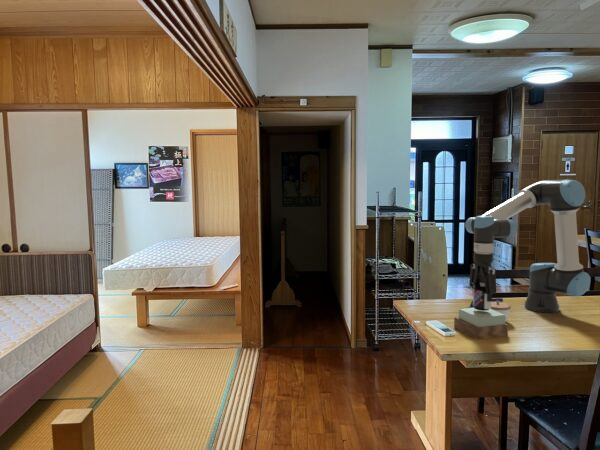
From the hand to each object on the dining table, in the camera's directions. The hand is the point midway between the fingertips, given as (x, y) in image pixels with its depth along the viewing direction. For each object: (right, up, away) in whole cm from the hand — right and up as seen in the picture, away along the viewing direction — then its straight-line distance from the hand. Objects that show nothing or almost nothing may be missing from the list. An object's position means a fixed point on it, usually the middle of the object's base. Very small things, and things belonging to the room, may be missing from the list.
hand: (481, 306), depth 182 cm
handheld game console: (+10, -9, +26) cm, 29 cm away
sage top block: (0, -6, 0) cm, 6 cm away
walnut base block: (0, -11, +1) cm, 11 cm away
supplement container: (0, -1, 0) cm, 1 cm away
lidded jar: (+13, -10, +15) cm, 22 cm away
